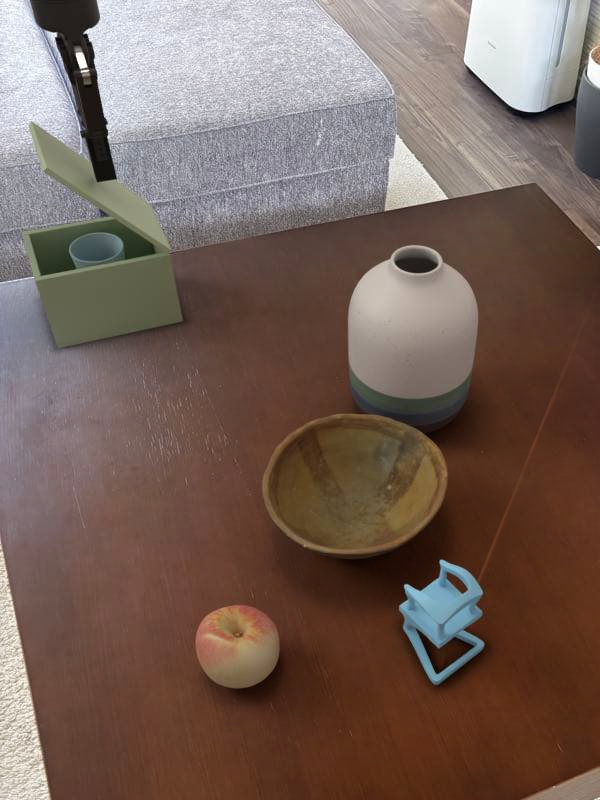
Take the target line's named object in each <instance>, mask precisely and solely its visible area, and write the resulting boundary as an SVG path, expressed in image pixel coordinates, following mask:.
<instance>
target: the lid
mask: <svg viewBox="0 0 600 800" xmlns="http://www.w3.org/2000/svg"><path fill="white" fill-rule="evenodd" d="M27 126H28V129H29V132H30V134H31V138H32V142H33V145H34V147H35V150H36V154H37V156H38V160H39V163H40V165H41V166H40V167H41V170H42V172H43V173H44V174H46V175H48V176H49V177H51V178H52V179H54V180H55V181H57V182H58V183H60V184H61V185H62V186H65V187H66V188H67V189H69V190H70V191H72V192H74V193H75V194H76V195H78V196H79V197H81V198H83V199H84V200H85V201H87V202H89V203H90V204H91V205H93V206H95V208H98V210H100V211H102V212H103V213H105V214H107V215H108V216H111V217H113V218H114V219H116V220H117V221H119V222H120V223H122V224H123V225H125V226H126V227H128V228H130V229H131V230H133V231H134V232H136V233H137V234H139V235H140V236H142V237H143V238H145V239H146V240H148V241H149V242H151V243H152V244H154V245H155V246H157V247H158V248H160V249H161V250H163V251H164V252H166V253H169V254H170V252H171V251H172V248H171V247H170V245H169V242H168V240H167V237H166V235H165V233H164V231H163V229H162V226H161V224H160V221H159V219H158V217H157V215H156V213H155V211H154V209H153V206H152V204H151V203H150V202H148V201H147V200H145V199H143V198H142V197H141V196H140V195H138V194H137V193H135V192H134V191H133V190H131V189H129V188H128V187H126V186H125V185H124V184H123V183H121V182H120V181H118V179H115V180H109V181H103V182H97V181H96V178H95V175H94V171H93V167H92V163H91V161H90V160H88V159H87V158H85V157H84V156H83V155H81V154H80V153H78V152H76V151H75V150H73V149H72V148H71V147H69V146H68V145H66V144H65V143H64V142H62V141H61V140H59V138H57V137H55V136H54V135H53V134H51V133H50V132H48V131H47V130H45V129H44V128H42V127H41V126H40V125H38V124H37V123H35V122H34V121H30V122H29V123H28V125H27Z"/></svg>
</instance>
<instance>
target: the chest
mask: <svg viewBox="0 0 600 800" xmlns="http://www.w3.org/2000/svg"><path fill="white" fill-rule="evenodd" d="M91 233H110V234H113V235H116V236H117V237H119V238H120V239H121V240H122V241H123V244H124V252H125V260H122V261H117V262H112V263H107V264H102V265H96V266H91V267H86V268H81V269H76V266H75V264H74V262H73V260H72V257H71V255H70V252H69V248H70V245H71V244H72V242H73V241H75V240H76V239H77V238H79V237H81V236H84V235H87V234H91ZM21 235H22V238H23V242H24V246H25V250H26V253H27V257H28V261H29V264H30V268H31V272H32V276H33V279H34V281H35V285H36V288H37V291H38V294H39V297H40V300H41V303H42V305H43V309H44V312H45V314H46V318H47V321H48V324H49V326H50V329H51V332H52V335H53V338H54V340H55V344H56V347H57V349H62V348H65V347H69V346H75V345H80V344H85V343H89V342H94V341H98V340H102V339H107V338H113V337H116V336H121V335H126V334H130V333H134V332H135V333H136V332H140V331H144V330H149V329H153V328H158V327H163V326H168V325H172V324H176V323H181V322H184V318H183V314H182V309H181V304H180V299H179V294H178V289H177V283H176V278H175V273H174V268H173V263H172V258H171V254H170V252H169V253H166V252H164V251H163V250H161V249H160V248H158V247H157V246H155V245H154V244H152V243H151V242H149V241H148V240H146V239H145V238H143V237H142V236H140V235H139V234H137V233H136V232H134V231H133V230H131V229H130V228H128V227H126V226H125V225H123V224H122V223H120V222H119V221H117V220H116V219H114V218H113V217H111V216H110V215H108V216H105V217H104V216H103V217H99V218H94V219H93V218H92V219H88V220H81V221H77V222H71V223H65V224H59V225H54V226H49V227H43V228H37V229H32V230H27V231H22V232H21Z"/></svg>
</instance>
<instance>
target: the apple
mask: <svg viewBox="0 0 600 800" xmlns="http://www.w3.org/2000/svg"><path fill="white" fill-rule="evenodd" d="M280 646H281V645H280V635H279V632H278V628H277V626H276V624H275V623H274V621H273V620H272V619H271V618H270V616H269V615H267V614H266V613H265V612H263V611H261V610H259V609H258V608H256V607H253V606H251V605H250V606H249V605H244V604H234V605H229V606H224V607H221V608H218V609H215V610H213V611H211V612H210V613H208V614H207V615H206V616H205V617H204V618H203V619H202V620H201V622H200V624H199V626H198V628H197V630H196V634H195V652H196V657H197V659H198V662H199V664H200V666H201V668H202V670H203V671H204V672H205V674H206V675H207V677H208V678H209V679H210V680H211V681H213V682H214V683H215V684H217V685H219V686H222V687H225V688H230V689H245V688H250V687H253V686H255V685H257V684H259V683H261V682H263V681H264V680H265V679H266V678H267V677H268V676H270V674H271V673H272V672H273V671H274V669H275V667H276V666H277V664H278V660H279V656H280V649H281V647H280Z"/></svg>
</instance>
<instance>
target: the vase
mask: <svg viewBox="0 0 600 800" xmlns="http://www.w3.org/2000/svg"><path fill="white" fill-rule="evenodd" d="M474 293H475V292H474V291H473V289H472V287H471V285H470V284H469V282H468V281H467V279H466V278H465V277H464V276H463V275H462V274H461V273H460V272H459V271H458V270H456V269H455V268H453V267H452V266H450V265H449V264H447V263H445V262H444V261H443V257H442V255H440V253H439V252H438V251H436V250H435V249H433V248H431V247H428V246H424V245H419V244H418V245H417V244H416V245H414V244H412V245H411V244H410V245H405V246H402V247H399V248H397V249H396V250H395V251H394V252H393V253H392V254H391V256H390V258H389V259H387V260H384V261H382V262H379V263H378V264H376V265H375V266H373V267H372V268H371V269H370V270H368V271H367V272H366V273H365V274H364V275H363V276H362V277H361V278H360V280H358V283H357V284H356V286H355V288H354V290H353V293H352V295H351V297H350V298H351V299H350V301H349V306H348V313H347V314H348V315H347V344H348V345H347V346H348V347H347V348H348V349H347V351H348V379H349V388H350V393H351V396H352V399H353V402H354V403H355V406H356V408H357V409H358V411H359V412H360V414H366V415H379V416H383V417H387V418H391V419H393V420H396V421H398V422H401V423H404V424H406V425H409V426H411V427H413V428H415V429H417V430H419V431H420V432H422V433H423V434H424V435H426V434H429V433H433V432H436V431H438V430H440V429H443V428H444V427H446V426H447V425H448V424H450V423H451V422H452V421H453V420H454V419H455V418H456V417H457V416H458V415H459V413H460V412H461V410H462V409H463V407H464V405H465V404H466V402H467V399H468V395H469V392H470V387H471V381H472V374H473V368H474V359H475V353H476V346H477V339H478V330H479V329H478V328H479V309H478V308H479V307H478V303H477V300H476V296H475V294H474Z"/></svg>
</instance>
